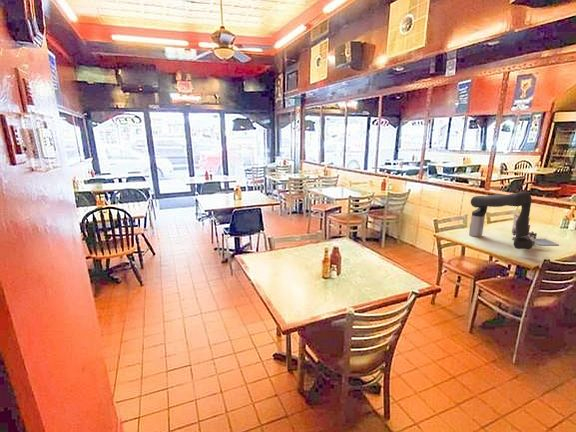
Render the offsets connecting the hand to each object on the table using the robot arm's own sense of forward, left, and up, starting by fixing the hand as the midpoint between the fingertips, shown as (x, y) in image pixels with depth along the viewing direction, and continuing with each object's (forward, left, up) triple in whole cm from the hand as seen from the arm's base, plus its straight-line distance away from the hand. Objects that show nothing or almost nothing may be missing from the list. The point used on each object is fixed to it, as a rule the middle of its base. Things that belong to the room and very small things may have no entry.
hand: (524, 231), depth 238 cm
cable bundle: (0, 0, -9) cm, 9 cm away
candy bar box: (-18, +8, -9) cm, 21 cm away
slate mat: (0, +14, -9) cm, 16 cm away
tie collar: (-1, 0, -9) cm, 9 cm away
